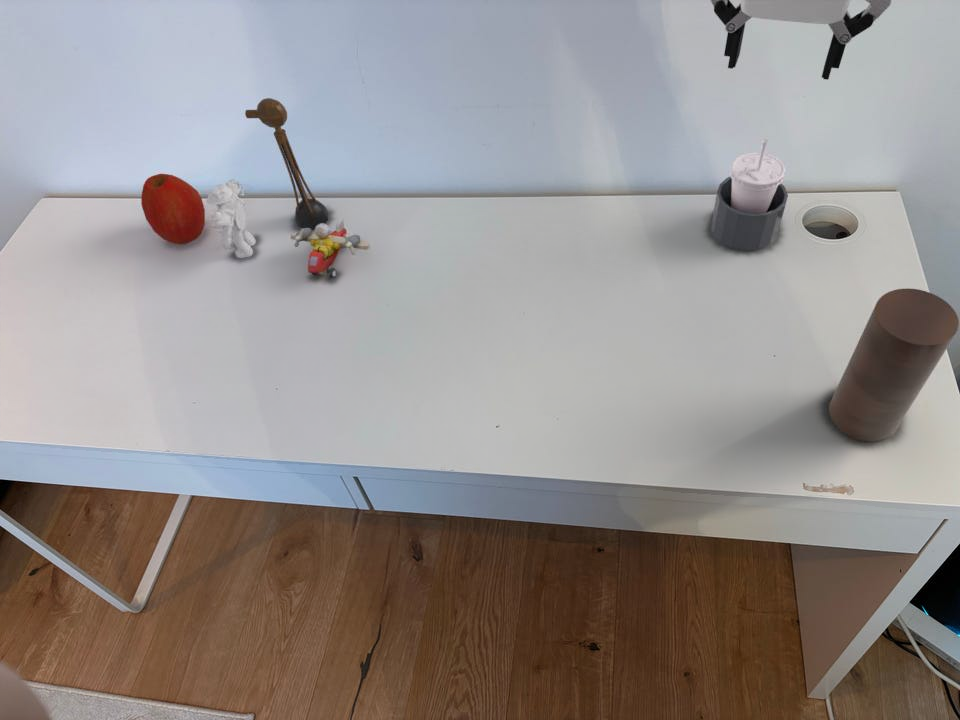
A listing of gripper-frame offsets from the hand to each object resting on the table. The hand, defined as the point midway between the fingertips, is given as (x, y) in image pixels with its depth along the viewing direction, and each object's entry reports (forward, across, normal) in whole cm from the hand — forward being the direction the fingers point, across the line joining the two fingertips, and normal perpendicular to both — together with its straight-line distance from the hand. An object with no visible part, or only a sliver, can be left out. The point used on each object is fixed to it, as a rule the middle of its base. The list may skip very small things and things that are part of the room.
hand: (779, 67), depth 79 cm
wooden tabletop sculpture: (+24, +60, +15) cm, 66 cm away
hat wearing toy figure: (+24, +66, +23) cm, 73 cm away
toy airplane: (+24, +52, +21) cm, 60 cm away
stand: (+23, -17, +26) cm, 39 cm away
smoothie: (+23, 0, 0) cm, 23 cm away
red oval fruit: (+24, +77, +23) cm, 83 cm away
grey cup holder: (+23, 0, 0) cm, 23 cm away
